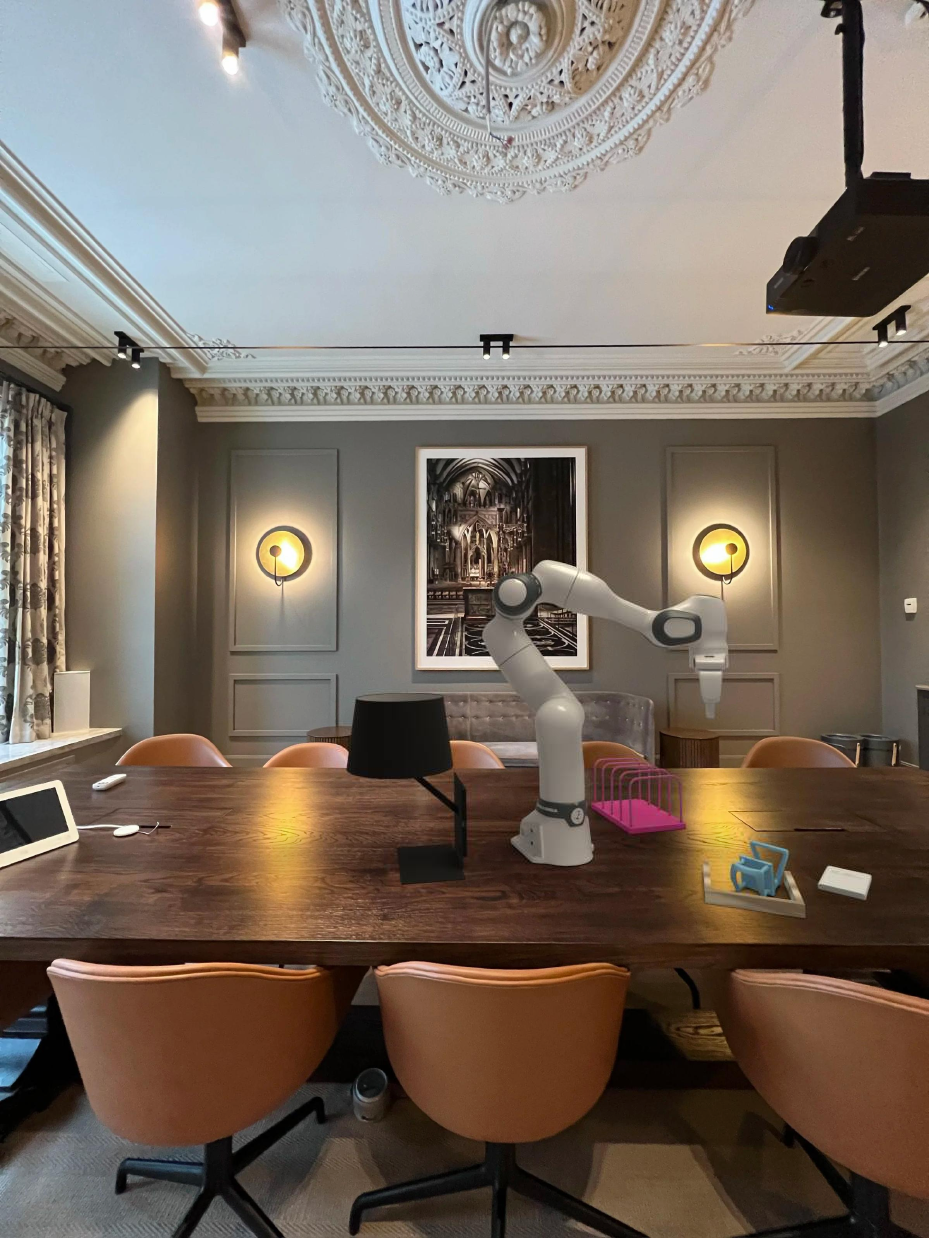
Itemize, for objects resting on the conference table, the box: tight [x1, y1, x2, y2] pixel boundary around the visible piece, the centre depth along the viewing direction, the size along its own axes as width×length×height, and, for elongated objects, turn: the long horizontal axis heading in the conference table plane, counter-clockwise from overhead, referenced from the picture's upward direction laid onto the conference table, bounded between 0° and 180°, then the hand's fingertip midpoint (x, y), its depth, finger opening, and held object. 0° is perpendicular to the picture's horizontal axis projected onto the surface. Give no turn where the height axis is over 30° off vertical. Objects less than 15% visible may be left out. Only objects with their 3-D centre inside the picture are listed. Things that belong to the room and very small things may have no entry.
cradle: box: [702, 860, 806, 919], centre depth 115 cm, size 16×17×2 cm
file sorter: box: [590, 757, 687, 835], centre depth 165 cm, size 17×25×16 cm
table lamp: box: [345, 692, 468, 886], centre depth 133 cm, size 26×28×40 cm
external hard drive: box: [817, 865, 872, 901], centre depth 119 cm, size 2×8×12 cm
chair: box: [729, 840, 789, 897], centre depth 116 cm, size 8×8×12 cm
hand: (710, 717), depth 135 cm, fingers closed
